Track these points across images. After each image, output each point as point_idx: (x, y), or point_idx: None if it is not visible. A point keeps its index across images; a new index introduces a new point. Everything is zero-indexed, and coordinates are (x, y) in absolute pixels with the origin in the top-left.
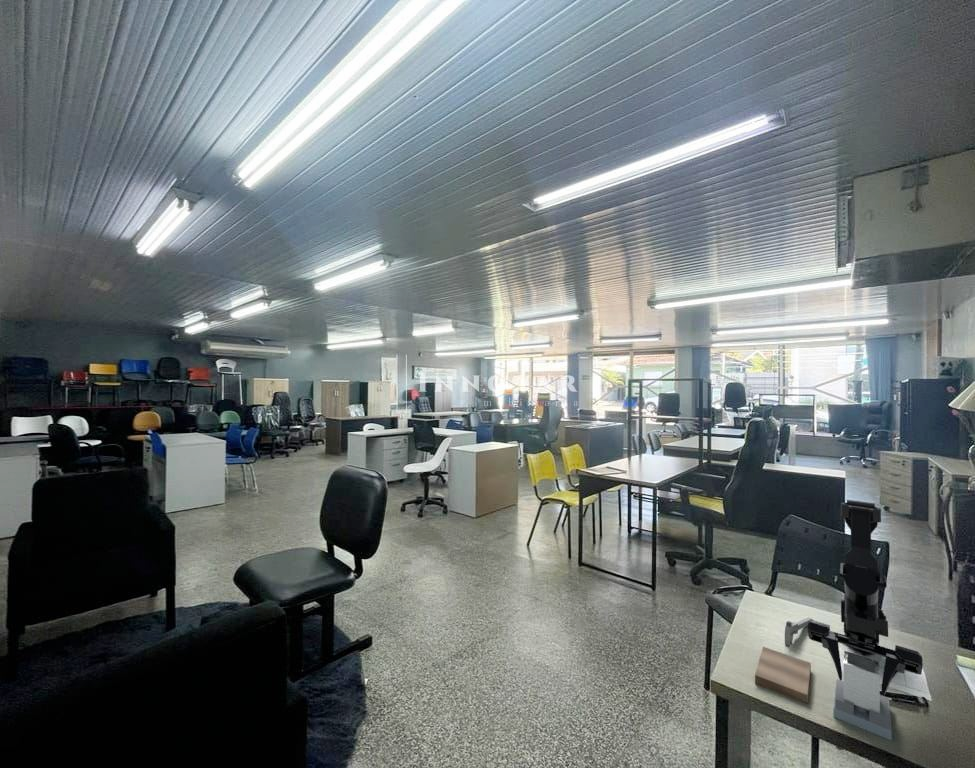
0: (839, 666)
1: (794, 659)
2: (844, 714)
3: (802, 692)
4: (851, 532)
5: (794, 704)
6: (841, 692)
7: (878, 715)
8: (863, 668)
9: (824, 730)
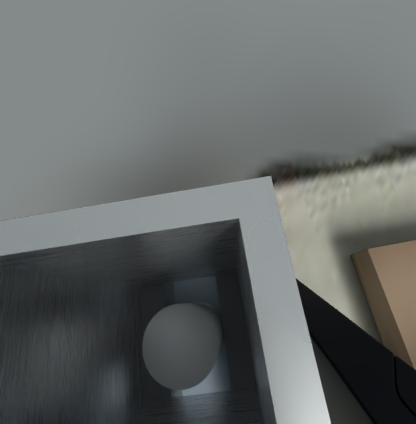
0: (318, 324)
1: None
2: None
3: (386, 248)
4: None
5: (374, 216)
6: None
7: None
8: (75, 242)
9: (270, 167)
